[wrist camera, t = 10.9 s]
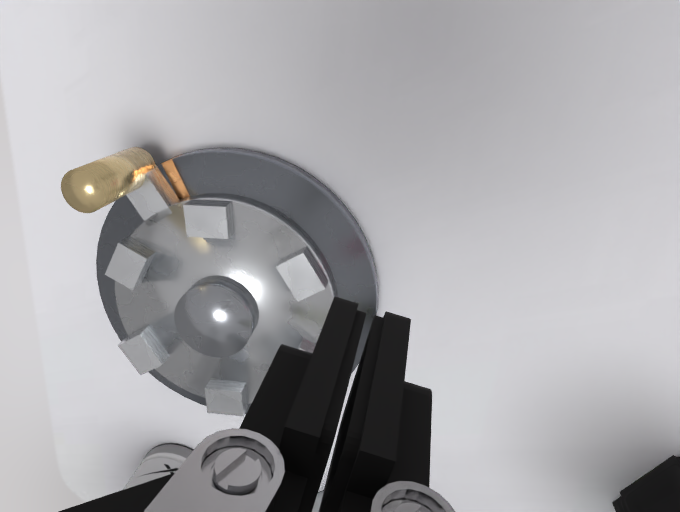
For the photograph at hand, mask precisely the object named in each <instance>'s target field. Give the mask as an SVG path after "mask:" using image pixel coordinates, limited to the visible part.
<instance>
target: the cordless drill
mask: <svg viewBox="0 0 680 512" xmlns="http://www.w3.org/2000/svg"><path fill="white" fill-rule="evenodd" d="M620 494H621V497H620V498H619V499H617V500H616V501H614V502H613V506H614V508H615V511H616V512H680V457H675V456H674V455H673V456H672V457H671V458H669V459H668V460H666V461H665V462H663V463H662V464H660V465H659V466H657V467H656V468H654V469H653V470H652V471H650V472H649V473H647V474H646V475H644V476H643V477H641V478H640V479H638V480H637V481H635V482H634V483H633V484H631V485H630V486H628V487H627V488H625V489H624V490H622V491H621V492H620Z"/></svg>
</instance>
